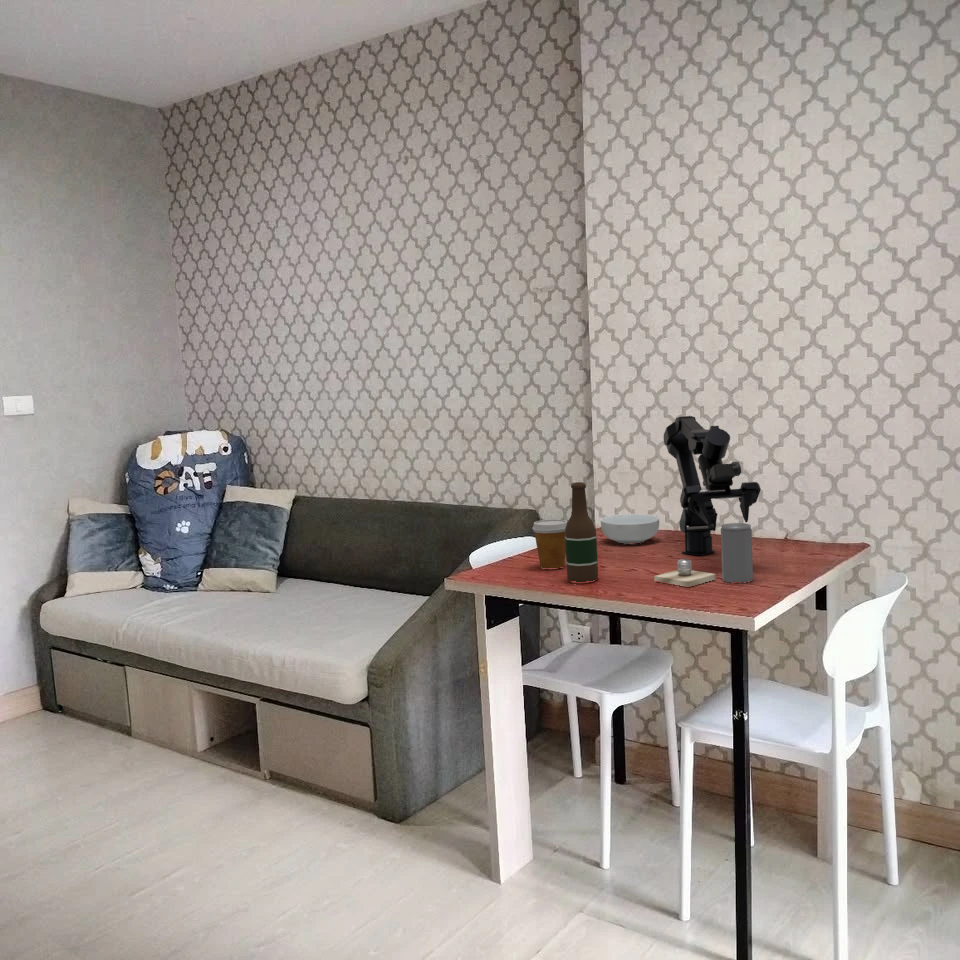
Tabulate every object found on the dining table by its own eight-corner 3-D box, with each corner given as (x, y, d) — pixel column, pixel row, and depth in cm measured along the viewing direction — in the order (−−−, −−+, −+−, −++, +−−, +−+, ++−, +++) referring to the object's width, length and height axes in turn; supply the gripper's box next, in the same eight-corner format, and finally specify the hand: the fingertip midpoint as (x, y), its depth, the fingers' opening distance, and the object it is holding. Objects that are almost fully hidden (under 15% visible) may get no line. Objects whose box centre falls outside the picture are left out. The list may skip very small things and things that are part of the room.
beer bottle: (601, 577, 233) (597, 480, 230) (594, 584, 226) (590, 484, 223) (570, 576, 236) (566, 481, 233) (563, 583, 228) (558, 485, 226)
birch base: (654, 582, 225) (654, 575, 225) (681, 574, 231) (681, 568, 231) (688, 588, 217) (688, 581, 217) (715, 580, 223) (715, 574, 223)
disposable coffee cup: (575, 564, 250) (573, 519, 249) (563, 572, 241) (561, 525, 240) (542, 563, 254) (539, 519, 253) (528, 570, 245) (526, 525, 244)
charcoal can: (717, 580, 223) (715, 526, 221) (734, 575, 227) (732, 522, 225) (740, 584, 217) (739, 528, 216) (757, 579, 222) (756, 524, 220)
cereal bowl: (589, 544, 277) (588, 520, 277) (625, 535, 289) (624, 512, 288) (636, 549, 265) (635, 524, 264) (671, 540, 276) (670, 516, 275)
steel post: (674, 575, 224) (673, 560, 224) (683, 572, 226) (683, 558, 226) (685, 577, 221) (685, 562, 221) (695, 574, 224) (694, 560, 223)
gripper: (681, 453, 230) (695, 504, 220) (757, 448, 231) (774, 499, 221) (674, 482, 239) (687, 532, 229) (747, 477, 239) (763, 527, 230)
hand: (727, 522), depth 227 cm, fingers open, 9 cm apart
